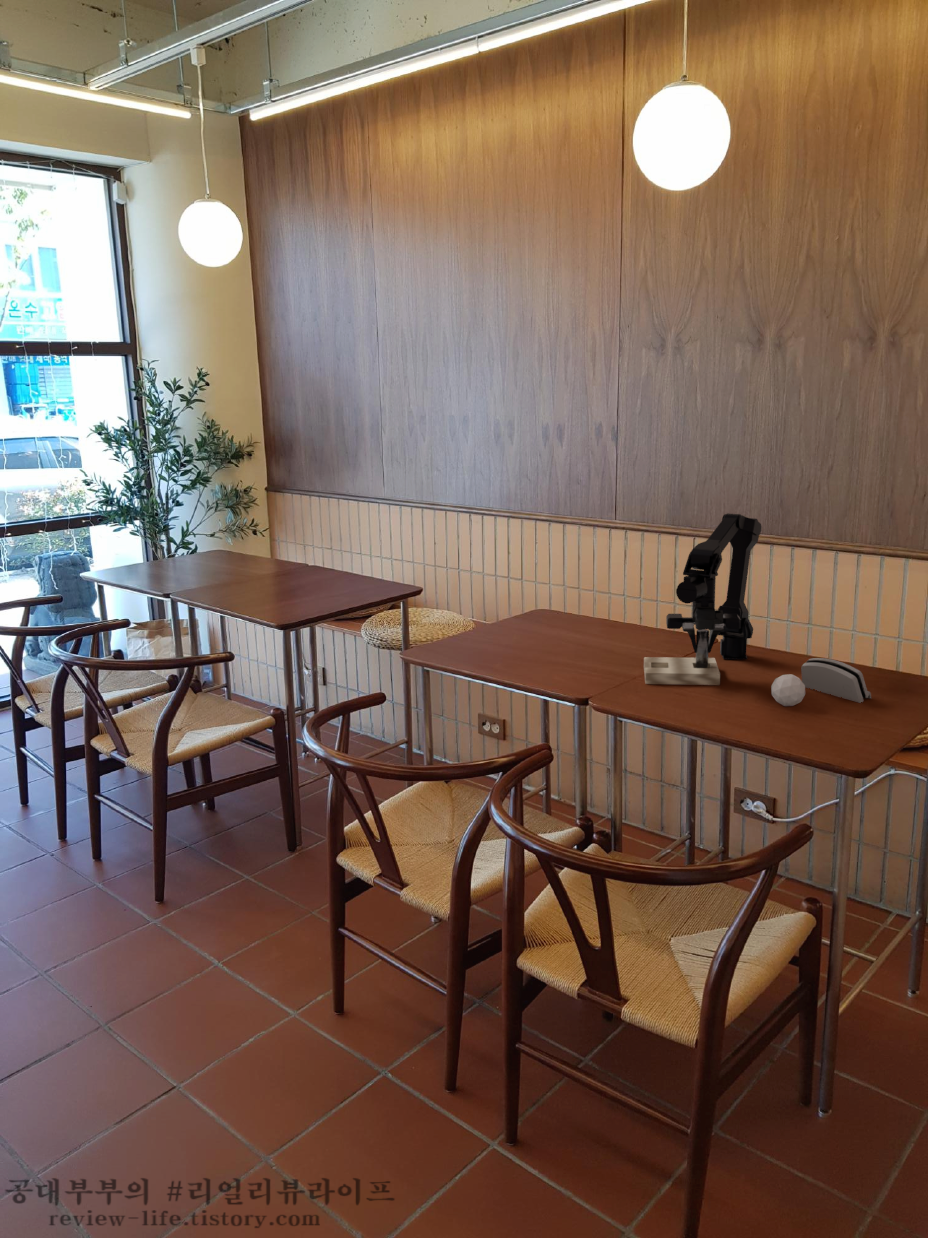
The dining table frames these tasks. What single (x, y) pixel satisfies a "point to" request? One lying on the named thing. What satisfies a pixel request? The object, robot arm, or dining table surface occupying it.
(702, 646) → the pin
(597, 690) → the dining table surface
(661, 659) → the dock board
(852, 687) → the grey napkin holder
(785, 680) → the geometric ball
